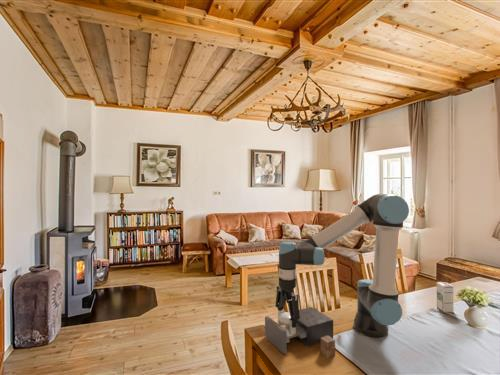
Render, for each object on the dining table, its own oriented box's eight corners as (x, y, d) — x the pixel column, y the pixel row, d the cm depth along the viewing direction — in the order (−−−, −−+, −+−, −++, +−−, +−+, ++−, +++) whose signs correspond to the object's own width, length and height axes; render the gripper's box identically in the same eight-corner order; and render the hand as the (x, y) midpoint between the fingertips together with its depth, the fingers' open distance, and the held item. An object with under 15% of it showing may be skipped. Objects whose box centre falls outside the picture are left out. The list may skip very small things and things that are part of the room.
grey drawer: (292, 328, 133) (292, 310, 133) (312, 344, 119) (312, 323, 119) (264, 336, 126) (264, 316, 126) (283, 353, 112) (283, 332, 112)
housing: (311, 324, 138) (311, 306, 138) (333, 338, 124) (333, 319, 124) (288, 330, 131) (288, 312, 131) (308, 346, 118) (308, 326, 118)
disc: (274, 318, 124) (274, 314, 124) (289, 315, 128) (289, 310, 128) (284, 326, 117) (284, 322, 117) (299, 322, 121) (299, 318, 121)
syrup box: (454, 312, 151) (454, 285, 151) (443, 312, 151) (443, 285, 151) (446, 307, 156) (446, 282, 156) (436, 307, 156) (436, 281, 156)
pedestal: (328, 349, 116) (328, 335, 116) (335, 355, 112) (335, 340, 112) (320, 352, 114) (320, 337, 114) (327, 357, 110) (327, 342, 110)
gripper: (267, 272, 130) (267, 320, 130) (294, 286, 111) (293, 343, 111) (281, 270, 133) (281, 317, 133) (309, 283, 115) (308, 338, 115)
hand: (286, 329), depth 122 cm, fingers closed on disc, 8 cm apart
